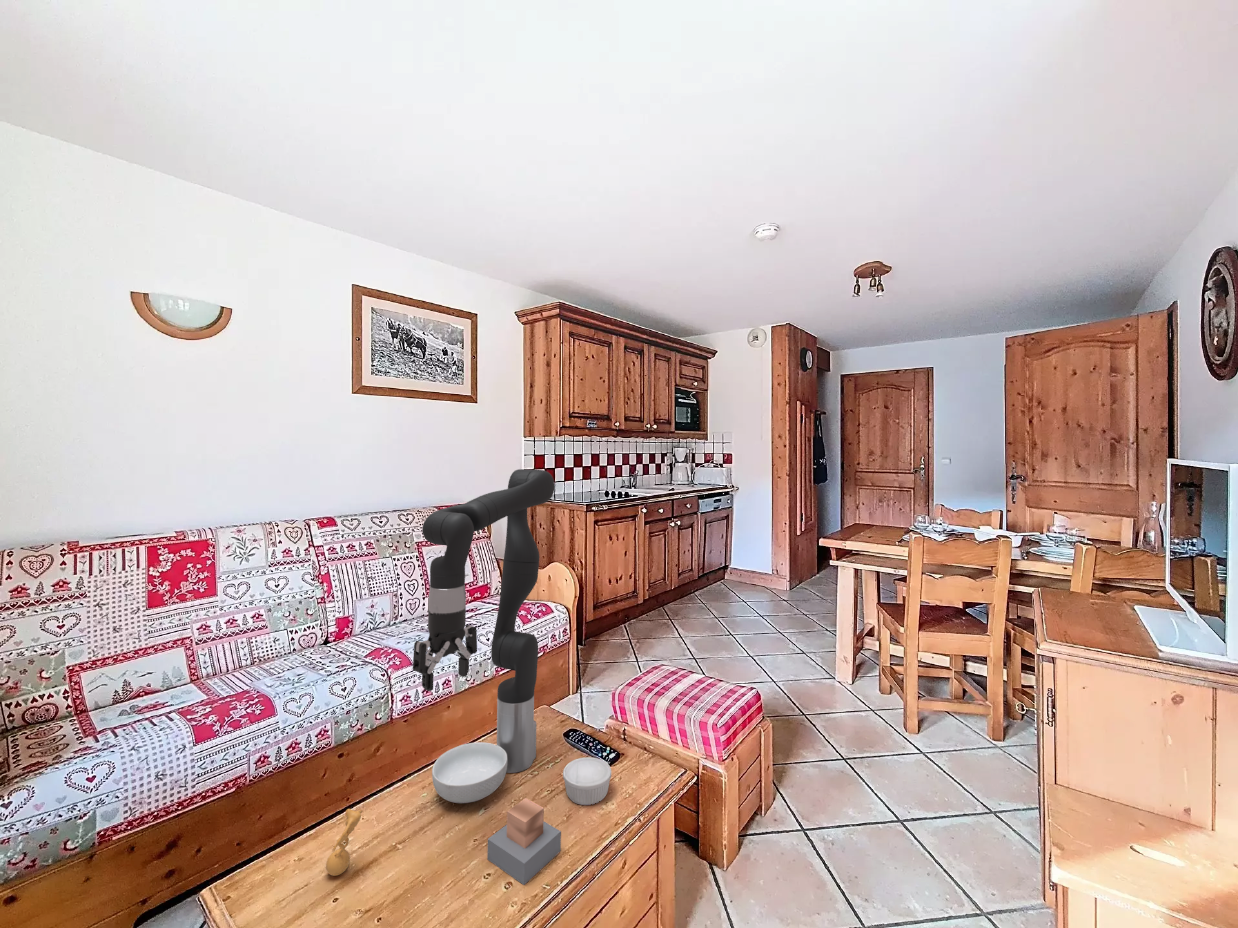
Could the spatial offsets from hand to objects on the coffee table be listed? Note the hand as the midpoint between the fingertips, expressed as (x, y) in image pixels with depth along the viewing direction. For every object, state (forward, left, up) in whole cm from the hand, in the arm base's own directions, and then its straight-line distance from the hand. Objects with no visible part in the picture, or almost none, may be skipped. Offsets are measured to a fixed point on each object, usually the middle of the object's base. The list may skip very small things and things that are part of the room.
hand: (446, 682), depth 108 cm
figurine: (+19, -4, -30) cm, 36 cm away
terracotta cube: (-4, +20, -26) cm, 33 cm away
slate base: (-4, +20, -30) cm, 36 cm away
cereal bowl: (-10, -4, -30) cm, 32 cm away
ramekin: (-26, +18, -30) cm, 44 cm away
